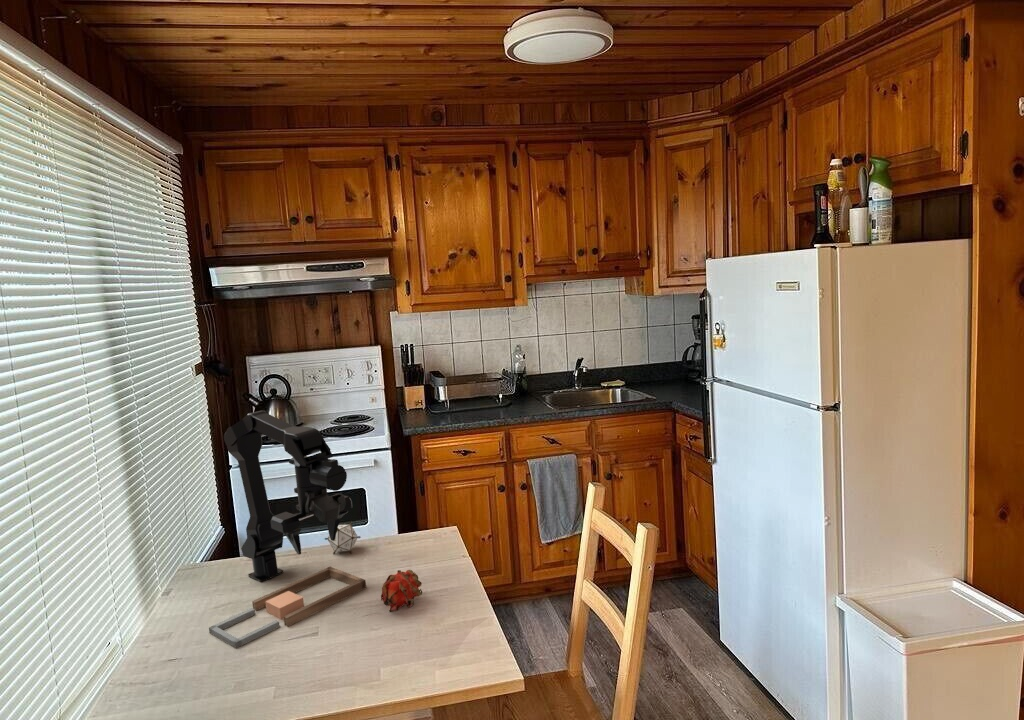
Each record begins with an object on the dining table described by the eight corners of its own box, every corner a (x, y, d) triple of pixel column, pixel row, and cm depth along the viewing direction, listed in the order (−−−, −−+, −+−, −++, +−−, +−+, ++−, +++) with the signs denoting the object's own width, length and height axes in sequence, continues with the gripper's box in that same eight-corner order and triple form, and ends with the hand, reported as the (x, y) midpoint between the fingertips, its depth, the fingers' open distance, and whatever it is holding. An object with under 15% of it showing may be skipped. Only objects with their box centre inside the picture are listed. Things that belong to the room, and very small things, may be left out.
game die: (352, 562, 196) (370, 529, 197) (341, 564, 188) (360, 530, 189) (325, 545, 198) (344, 513, 199) (313, 546, 190) (333, 513, 191)
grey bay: (209, 632, 155) (208, 627, 155) (252, 612, 163) (251, 607, 163) (235, 648, 148) (235, 642, 148) (279, 626, 155) (279, 621, 155)
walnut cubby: (253, 609, 165) (252, 601, 164) (330, 573, 181) (330, 566, 180) (287, 626, 155) (286, 618, 155) (366, 587, 171) (365, 579, 171)
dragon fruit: (421, 599, 167) (394, 631, 156) (393, 576, 168) (363, 607, 158) (435, 575, 163) (408, 607, 152) (405, 553, 164) (376, 583, 154)
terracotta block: (267, 613, 163) (265, 601, 162) (290, 602, 167) (288, 590, 167) (281, 620, 159) (279, 608, 158) (304, 609, 163) (303, 597, 163)
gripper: (293, 502, 153) (300, 570, 156) (363, 478, 167) (369, 541, 170) (265, 492, 161) (273, 558, 163) (335, 470, 174) (341, 530, 177)
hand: (316, 547), depth 168 cm, fingers open, 9 cm apart
